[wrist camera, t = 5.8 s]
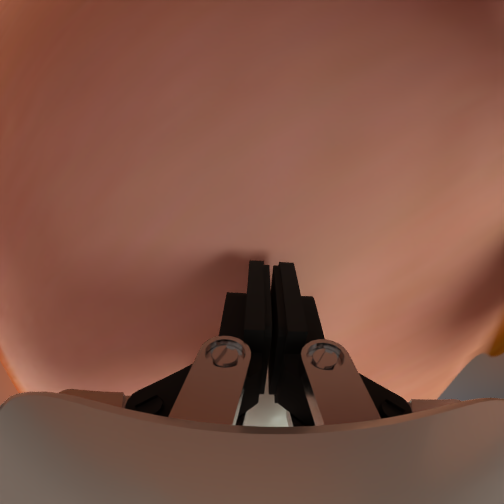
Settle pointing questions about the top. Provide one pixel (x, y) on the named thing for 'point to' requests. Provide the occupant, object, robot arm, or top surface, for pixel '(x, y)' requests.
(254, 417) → the cue ball
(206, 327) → the top surface
